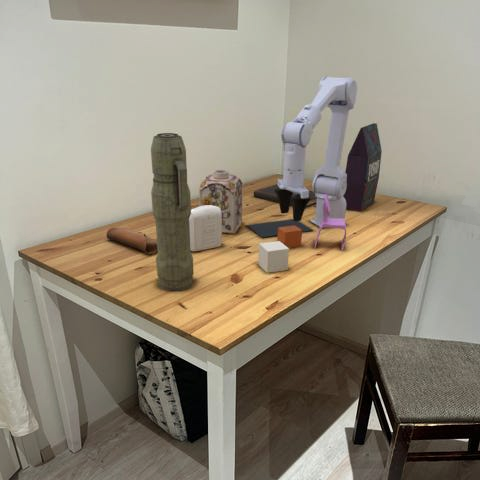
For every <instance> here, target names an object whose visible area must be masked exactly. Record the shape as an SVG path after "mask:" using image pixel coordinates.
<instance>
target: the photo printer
mask: <svg viewBox="0 0 480 480" xmlns="http://www.w3.org/2000/svg"><path fill="white" fill-rule="evenodd" d="M189 226H190V252H199V251H205V250H209V249H214V248H219V247H221V246H222V245H223V237H222V236H223V233H222V213H221V209H220V208H219V207H217V206H213V205H205V206H200V205H199V206H197V207H195V208H191V215H190V218H189Z"/></svg>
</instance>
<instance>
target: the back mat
mask: <svg viewBox="0 0 480 480" xmlns="http://www.w3.org/2000/svg"><path fill="white" fill-rule="evenodd" d="M293 225H295V226H296V227H298V228H300V229H301V230H302V233H308V232H313V229H312V228H311V227H309V226H307V225H305V224H304V223H302V222H301V221H294V220H293V218H291V219H283V220H277V221H267V222H260V223H253V224H246V227H247V228H248V229H249V230H250V231H252V232H253V233H255V234H256V235H257V236H258V237H260V238H262V239H265V238H267V239H268V238H274V237H278V228H279V227H286V226H293Z"/></svg>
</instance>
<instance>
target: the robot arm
mask: <svg viewBox="0 0 480 480" xmlns="http://www.w3.org/2000/svg"><path fill="white" fill-rule="evenodd" d="M318 83H319V84H318V89H317V94H316V96H315V97H314V99H313V100H312V102H311V103H308V104H305V105H304V107H302V108H301V109H300V111H299V113H298V114H296V116H295V118H294V119H293V120H292V121H288V122H287V123H285V124H284V125H283V127H282V129H281V133H280V138H281V142H282V151H283V152H284V153H283V154H284V155H283V157H284V158H283V172H282V173H283V175H282V177H283V178H277V184H278V186H279V188H277V189H275V192H276V194H277V197H278V200H279V203H278V204H279V209H280V213H281V214H289V211H290V201H291V202H292V206H291V207H292V219H293V220H294V221H299V222H301V221H302V218H303V215H304V212H305V210H306V208H307V207H306V206H307V204H308V202H309V201H310V200H311V197H309V191H310V190H309V189H307V188H306V186H305V185H304V178H305V167H306V154H307V153H306V152H307V146H308V145H310V142H311V138H312V135H313V133H314V129H315V128H316V126H317V125H318V124H319V123H320V121H321V120H322V112H323V111H325V109H326V108H329V109H330V111H331V117H330V123H329V130H328V137H327V143H326V150H325V156H324V162H323V163H324V164H323V166H321V167H319V168H318V169H317V170H316V171H315V175H314V178H313V181H312V185H311V188H312V189H311V190H312V191H313V192H314V193H315V196H316V197H317V203H316V205H315V214H314V215H315V216H314V218H311V219H309V222H311V223H312V224H314V225H316V226H318V228H320V224H321V221H322V220H323V203H325V201H324V194H327V195H328V197H329V205H330V212H329V213H330V215H328V218H336V219H345V220H346V212H347V209H346V200H345V198H344V197H343V195H344V194H345V191H346V187H347V182H346V180H347V174H346V173H345V170H344V169H343V168H342V167H341V160H342V154H343V148H344V144H345V137H346V131H347V125H348V119H349V114H350V111H351V110H353V109H354V107H355V104H356V100H357V93H358V84H357V81H356V78H355V77H335V76H326V75H325V76H323V77H322V78H321V79H320V81H319V82H318ZM308 190H309V191H308ZM293 193H295V194H297V196H292V194H293Z"/></svg>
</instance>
